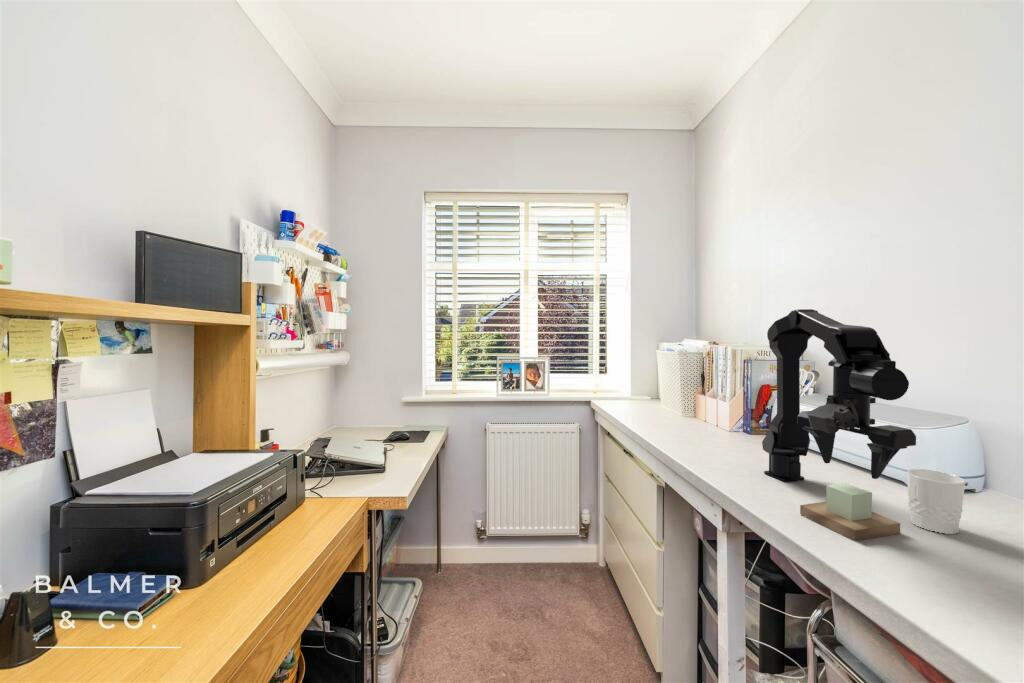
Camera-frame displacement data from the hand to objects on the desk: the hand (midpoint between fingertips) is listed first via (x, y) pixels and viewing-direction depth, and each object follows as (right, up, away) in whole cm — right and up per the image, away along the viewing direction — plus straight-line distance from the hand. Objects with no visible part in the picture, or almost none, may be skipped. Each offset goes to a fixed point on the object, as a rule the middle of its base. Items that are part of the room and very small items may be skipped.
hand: (849, 470), depth 82 cm
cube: (0, -9, +1) cm, 9 cm away
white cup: (+16, -11, -1) cm, 19 cm away
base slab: (0, -11, +1) cm, 11 cm away
